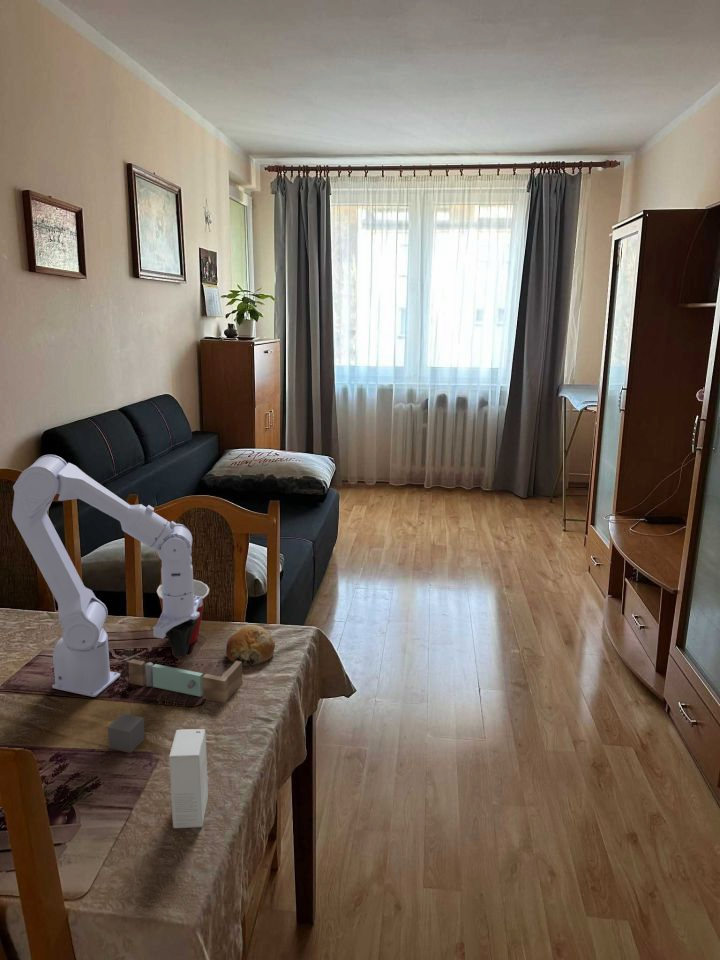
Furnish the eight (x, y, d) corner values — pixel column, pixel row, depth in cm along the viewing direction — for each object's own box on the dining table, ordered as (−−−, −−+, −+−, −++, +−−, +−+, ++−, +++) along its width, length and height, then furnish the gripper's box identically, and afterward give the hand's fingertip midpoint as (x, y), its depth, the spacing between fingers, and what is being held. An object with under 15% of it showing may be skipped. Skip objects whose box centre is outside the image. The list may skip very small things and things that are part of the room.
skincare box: (179, 798, 99) (176, 728, 96) (208, 797, 100) (206, 727, 97) (171, 829, 94) (168, 756, 90) (202, 828, 94) (200, 755, 91)
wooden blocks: (130, 683, 128) (128, 662, 127) (151, 664, 135) (150, 644, 134) (225, 703, 123) (224, 681, 122) (242, 682, 130) (242, 661, 128)
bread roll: (278, 670, 141) (289, 633, 142) (249, 671, 132) (260, 631, 133) (243, 656, 146) (253, 620, 147) (212, 656, 137) (223, 618, 138)
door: (141, 688, 126) (140, 668, 125) (149, 681, 128) (147, 661, 127) (197, 700, 123) (196, 679, 122) (203, 693, 125) (203, 672, 124)
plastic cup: (186, 657, 138) (184, 603, 135) (148, 642, 143) (145, 591, 140) (221, 635, 147) (220, 585, 144) (184, 623, 152) (182, 574, 149)
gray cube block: (109, 748, 110) (107, 727, 109) (124, 733, 114) (122, 713, 113) (130, 753, 109) (129, 732, 108) (144, 738, 113) (143, 717, 112)
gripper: (176, 609, 118) (179, 677, 122) (215, 578, 132) (217, 640, 135) (141, 603, 120) (145, 671, 124) (183, 573, 134) (186, 634, 137)
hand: (180, 654), depth 130 cm, fingers closed
